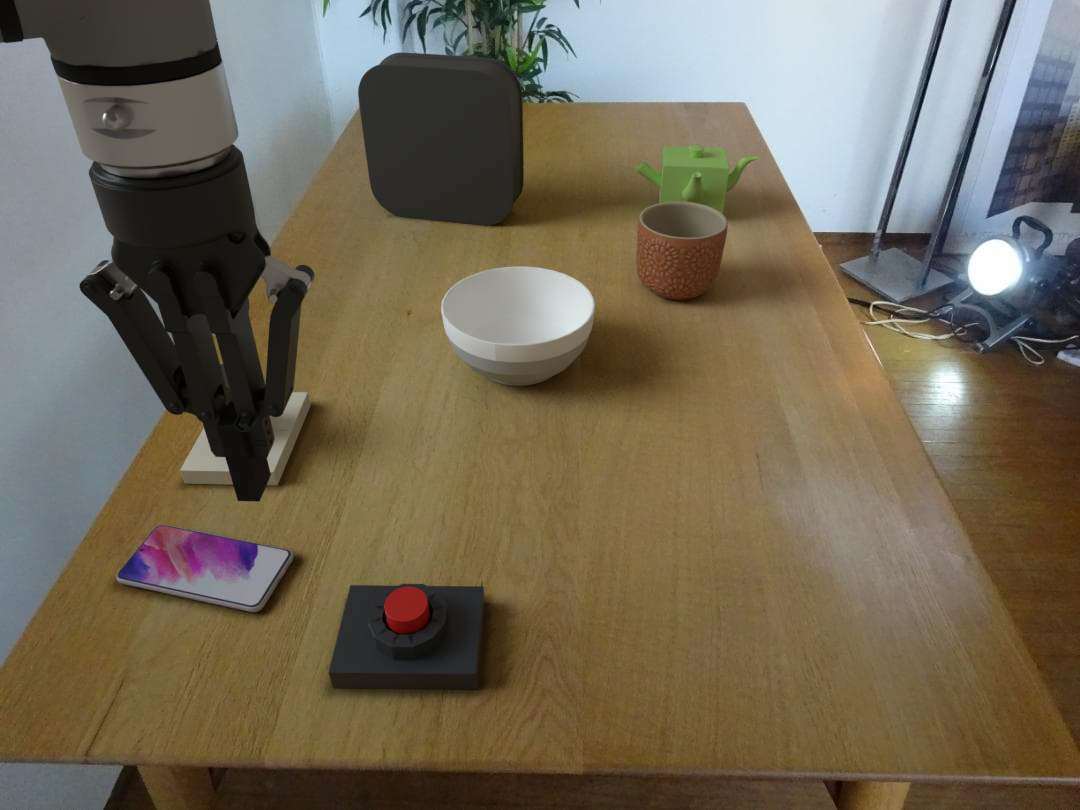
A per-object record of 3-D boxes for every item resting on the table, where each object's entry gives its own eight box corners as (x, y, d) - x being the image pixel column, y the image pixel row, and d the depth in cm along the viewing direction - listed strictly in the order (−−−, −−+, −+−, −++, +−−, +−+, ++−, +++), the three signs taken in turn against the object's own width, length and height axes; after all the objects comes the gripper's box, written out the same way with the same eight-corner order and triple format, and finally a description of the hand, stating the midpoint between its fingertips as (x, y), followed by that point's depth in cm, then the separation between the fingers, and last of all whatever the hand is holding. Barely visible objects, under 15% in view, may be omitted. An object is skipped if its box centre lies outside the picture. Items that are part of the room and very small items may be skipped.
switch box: (332, 688, 67) (324, 659, 64) (353, 600, 74) (347, 571, 71) (477, 689, 67) (474, 660, 64) (484, 601, 74) (482, 572, 71)
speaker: (374, 214, 139) (353, 62, 124) (392, 194, 146) (374, 47, 131) (513, 228, 135) (510, 72, 119) (526, 207, 141) (524, 57, 126)
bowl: (605, 333, 109) (609, 276, 104) (574, 417, 95) (575, 355, 90) (473, 314, 113) (470, 258, 108) (424, 392, 99) (417, 332, 93)
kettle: (750, 213, 140) (760, 149, 133) (695, 237, 132) (704, 171, 125) (684, 186, 149) (691, 125, 142) (630, 207, 141) (634, 144, 134)
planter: (708, 316, 113) (719, 245, 106) (623, 300, 116) (628, 230, 109) (724, 275, 122) (735, 207, 115) (644, 262, 125) (650, 195, 119)
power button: (383, 634, 67) (380, 621, 65) (390, 599, 69) (387, 586, 68) (426, 634, 66) (425, 621, 65) (432, 599, 69) (430, 586, 68)
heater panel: (277, 485, 86) (273, 470, 84) (184, 484, 86) (179, 469, 85) (311, 405, 97) (307, 390, 95) (228, 403, 97) (224, 389, 96)
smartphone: (257, 610, 72) (111, 578, 75) (260, 616, 72) (114, 584, 75) (296, 549, 77) (158, 521, 80) (297, 555, 78) (160, 527, 81)
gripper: (-2, 176, 39) (138, 524, 53) (269, 182, 39) (336, 529, 53) (74, 125, 45) (181, 450, 59) (308, 130, 45) (359, 454, 59)
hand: (254, 487), depth 56 cm, fingers closed
